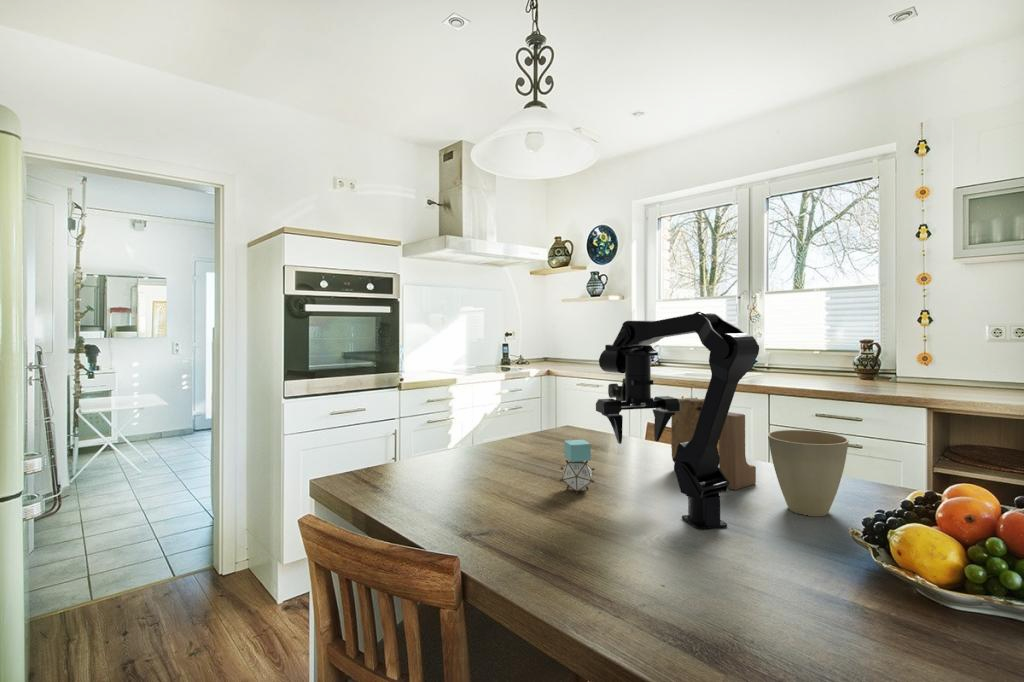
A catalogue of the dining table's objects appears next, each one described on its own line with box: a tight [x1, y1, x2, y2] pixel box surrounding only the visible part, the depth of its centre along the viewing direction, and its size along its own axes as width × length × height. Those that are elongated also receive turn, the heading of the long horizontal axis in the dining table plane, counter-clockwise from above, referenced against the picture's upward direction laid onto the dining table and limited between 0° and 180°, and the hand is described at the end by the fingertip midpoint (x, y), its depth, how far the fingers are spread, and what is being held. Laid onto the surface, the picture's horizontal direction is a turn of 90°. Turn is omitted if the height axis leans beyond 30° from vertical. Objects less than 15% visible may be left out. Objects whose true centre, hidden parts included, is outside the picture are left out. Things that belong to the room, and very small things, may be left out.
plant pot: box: [767, 429, 849, 517], centre depth 109 cm, size 15×15×16 cm
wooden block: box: [718, 411, 757, 491], centre depth 127 cm, size 9×4×18 cm, turn 123°
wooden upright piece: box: [670, 397, 705, 463], centre depth 139 cm, size 11×8×20 cm
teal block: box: [563, 439, 592, 462], centre depth 124 cm, size 5×5×4 cm
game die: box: [558, 459, 595, 496], centre depth 124 cm, size 9×8×10 cm
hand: (638, 442), depth 118 cm, fingers open, 9 cm apart
